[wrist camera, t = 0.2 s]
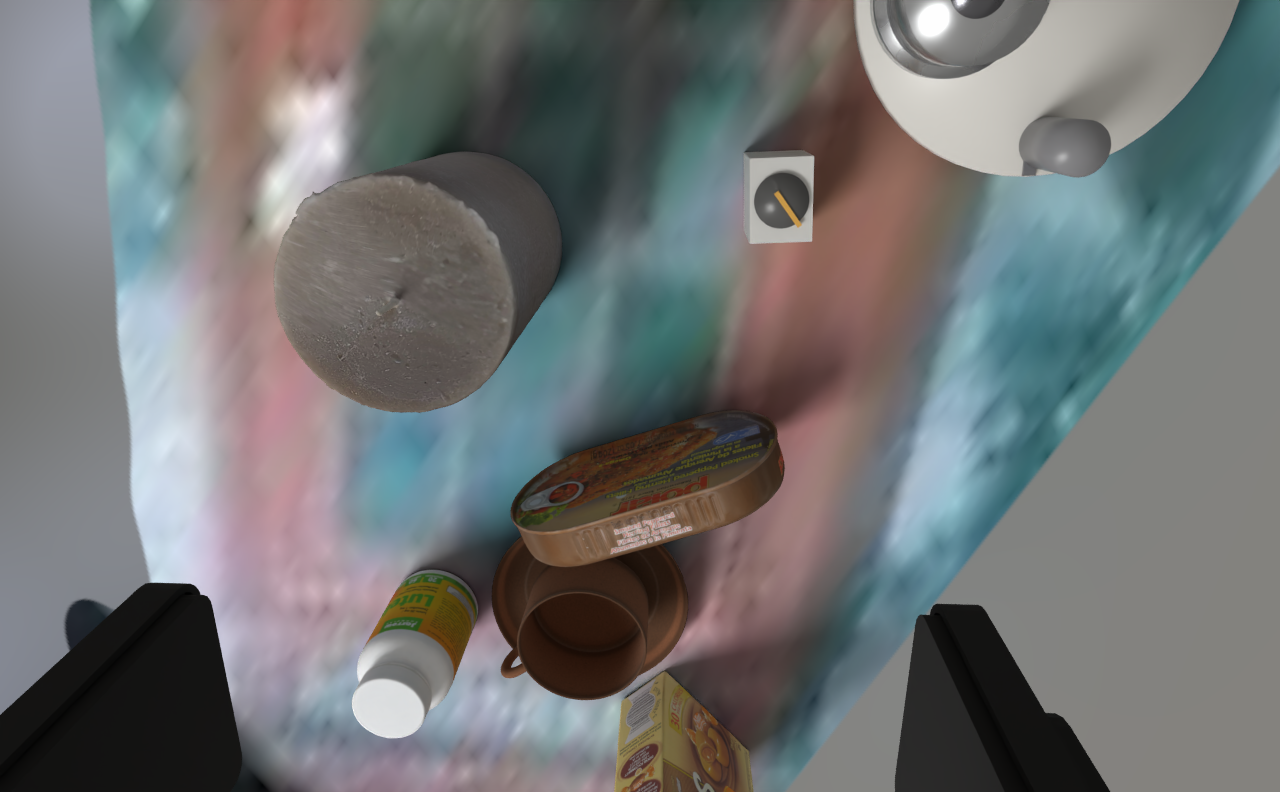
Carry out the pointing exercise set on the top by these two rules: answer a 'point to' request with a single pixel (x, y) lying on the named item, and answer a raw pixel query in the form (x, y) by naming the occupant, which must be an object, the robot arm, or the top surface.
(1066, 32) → the white disc with knobs
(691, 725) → the candy box
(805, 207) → the dial gauge
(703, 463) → the tin
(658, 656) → the cup and saucer
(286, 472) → the top surface
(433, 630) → the supplement bottle
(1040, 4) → the door knob
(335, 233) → the pillar candle
